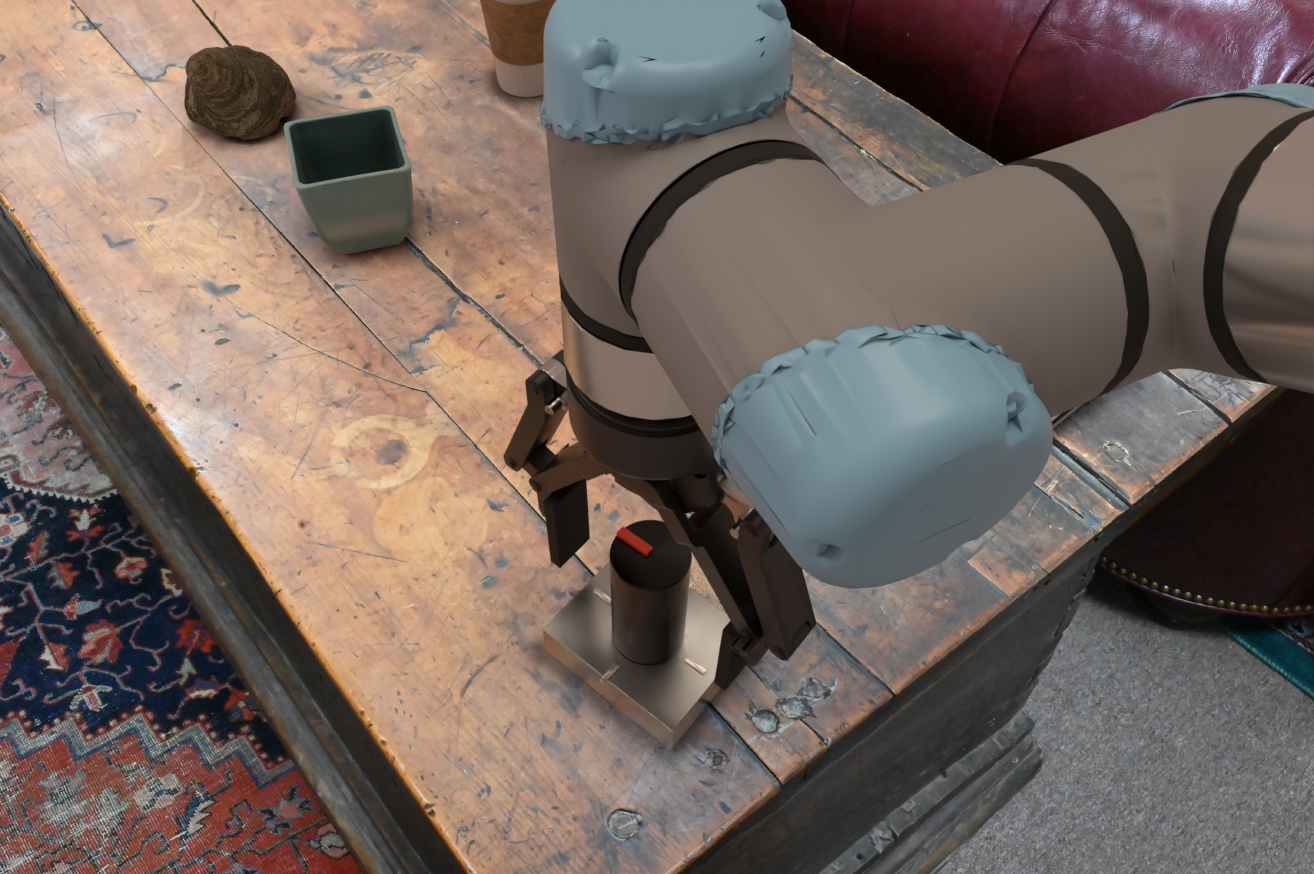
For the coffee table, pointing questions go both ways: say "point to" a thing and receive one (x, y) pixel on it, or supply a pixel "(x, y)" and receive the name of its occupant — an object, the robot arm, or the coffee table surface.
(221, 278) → the coffee table surface
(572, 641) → the dimmer panel
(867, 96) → the coffee table surface
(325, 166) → the flower pot
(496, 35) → the coffee cup
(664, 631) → the dimmer
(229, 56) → the seashell
